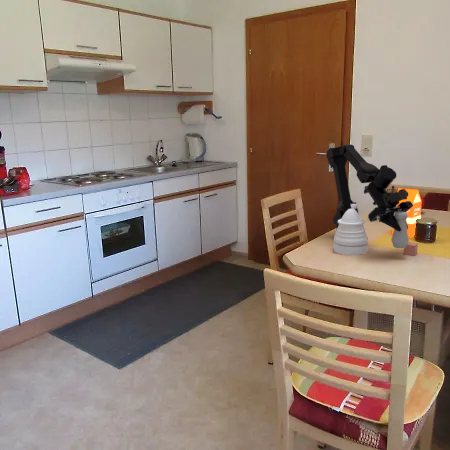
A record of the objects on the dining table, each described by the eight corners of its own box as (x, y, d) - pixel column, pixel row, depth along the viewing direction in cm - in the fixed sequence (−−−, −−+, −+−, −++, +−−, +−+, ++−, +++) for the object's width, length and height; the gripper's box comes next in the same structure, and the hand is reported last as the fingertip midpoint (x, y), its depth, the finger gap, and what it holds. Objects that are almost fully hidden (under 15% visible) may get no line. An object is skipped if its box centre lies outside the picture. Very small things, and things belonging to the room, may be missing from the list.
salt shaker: (409, 249, 160) (411, 213, 157) (392, 249, 162) (394, 213, 158) (406, 244, 166) (408, 210, 163) (390, 244, 167) (391, 210, 164)
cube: (403, 254, 168) (404, 244, 167) (405, 251, 171) (406, 241, 170) (414, 256, 166) (415, 245, 165) (417, 253, 169) (417, 242, 168)
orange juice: (411, 238, 189) (413, 191, 184) (391, 234, 195) (393, 189, 191) (420, 234, 194) (422, 188, 189) (400, 231, 200) (402, 186, 196)
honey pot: (344, 244, 185) (345, 201, 180) (373, 249, 176) (375, 204, 171) (327, 251, 176) (327, 206, 172) (356, 257, 167) (358, 210, 163)
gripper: (376, 185, 157) (401, 221, 150) (410, 179, 166) (435, 213, 160) (357, 204, 165) (381, 239, 159) (391, 197, 175) (414, 230, 168)
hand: (403, 230), depth 161 cm, fingers closed on salt shaker, 3 cm apart
